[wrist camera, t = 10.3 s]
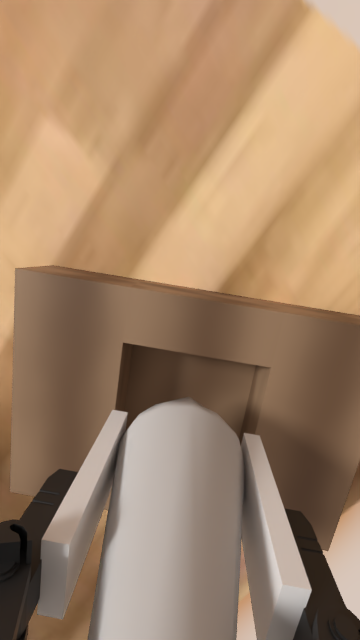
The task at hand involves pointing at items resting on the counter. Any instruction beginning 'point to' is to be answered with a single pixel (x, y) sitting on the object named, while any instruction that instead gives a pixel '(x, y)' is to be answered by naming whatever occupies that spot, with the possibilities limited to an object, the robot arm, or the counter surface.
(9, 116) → the counter surface
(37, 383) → the stand
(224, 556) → the salt shaker
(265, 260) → the counter surface
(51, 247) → the counter surface
